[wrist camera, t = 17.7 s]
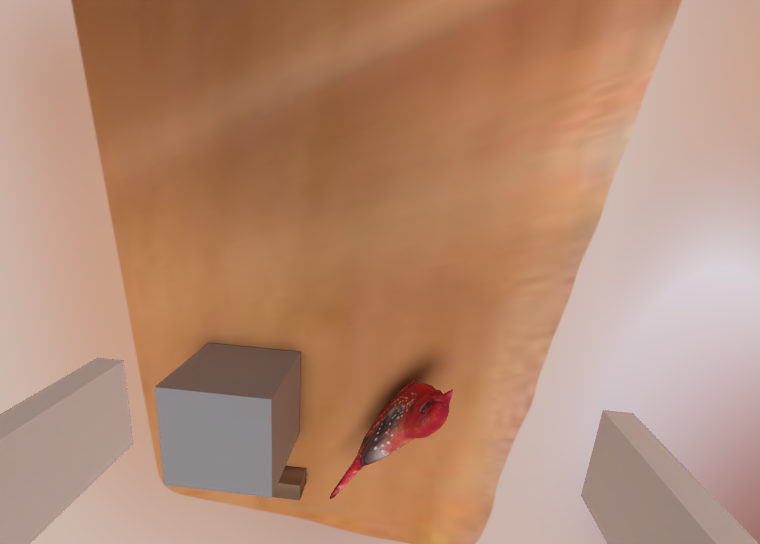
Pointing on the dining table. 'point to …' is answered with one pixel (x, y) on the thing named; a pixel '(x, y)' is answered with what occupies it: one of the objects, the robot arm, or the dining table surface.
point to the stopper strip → (291, 483)
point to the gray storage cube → (229, 419)
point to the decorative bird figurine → (401, 425)
